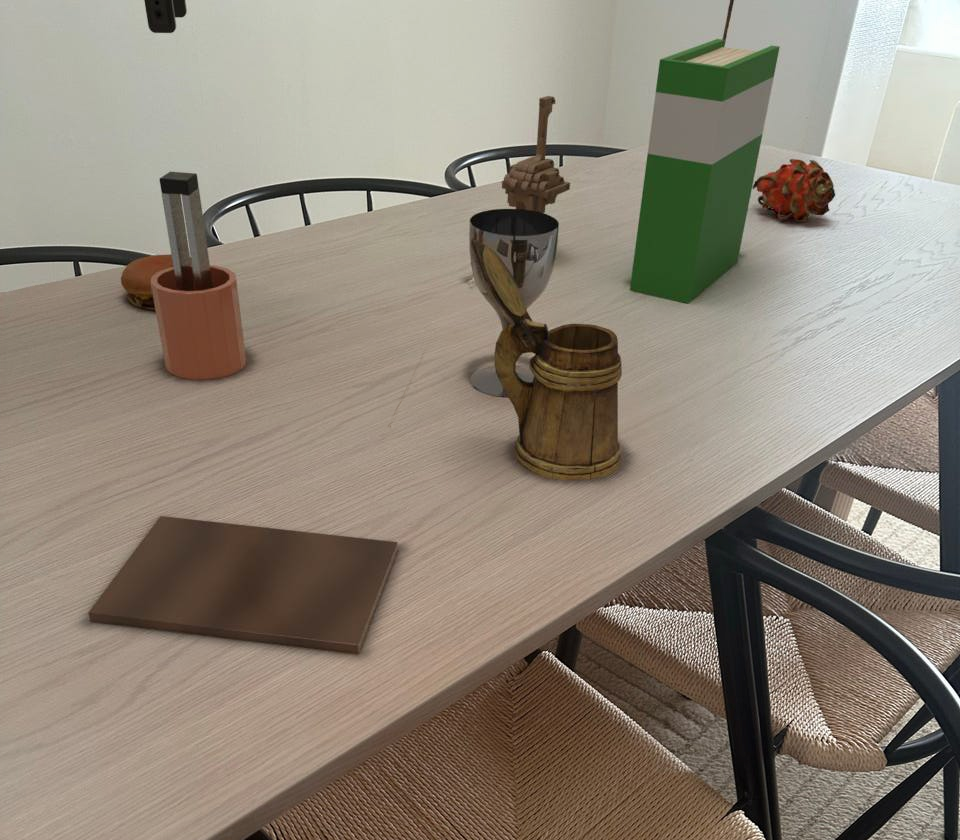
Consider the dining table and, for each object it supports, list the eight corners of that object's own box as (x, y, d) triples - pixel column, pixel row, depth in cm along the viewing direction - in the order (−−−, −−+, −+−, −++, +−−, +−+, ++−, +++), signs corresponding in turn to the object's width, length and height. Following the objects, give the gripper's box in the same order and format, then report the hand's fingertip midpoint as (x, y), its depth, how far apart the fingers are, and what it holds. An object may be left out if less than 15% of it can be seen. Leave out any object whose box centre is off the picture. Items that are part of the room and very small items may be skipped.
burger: (136, 286, 113) (128, 245, 110) (219, 287, 114) (213, 246, 111) (118, 320, 105) (110, 276, 102) (207, 321, 106) (201, 277, 103)
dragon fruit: (828, 241, 140) (749, 235, 146) (850, 192, 141) (771, 189, 148) (820, 196, 133) (736, 192, 139) (843, 146, 134) (760, 144, 141)
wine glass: (454, 390, 95) (457, 228, 85) (480, 358, 101) (486, 204, 91) (533, 404, 93) (545, 241, 84) (555, 371, 99) (569, 215, 89)
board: (92, 630, 65) (87, 612, 64) (163, 532, 74) (160, 515, 73) (358, 663, 63) (357, 645, 63) (398, 558, 73) (397, 541, 72)
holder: (154, 383, 94) (137, 289, 88) (184, 351, 100) (169, 261, 94) (231, 390, 93) (218, 296, 88) (257, 358, 99) (247, 267, 93)
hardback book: (683, 250, 130) (717, 38, 114) (737, 261, 127) (779, 46, 112) (629, 290, 118) (659, 59, 102) (688, 303, 115) (728, 68, 100)
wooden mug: (472, 428, 89) (478, 220, 78) (622, 443, 88) (651, 234, 76) (455, 477, 82) (459, 256, 71) (618, 494, 81) (648, 272, 69)
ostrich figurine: (521, 246, 129) (530, 91, 117) (565, 257, 126) (578, 99, 115) (444, 280, 118) (445, 113, 106) (490, 294, 115) (497, 123, 104)
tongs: (189, 366, 95) (158, 178, 84) (198, 356, 97) (169, 171, 86) (214, 369, 95) (186, 180, 84) (222, 359, 97) (197, 173, 86)
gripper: (98, -219, 81) (137, 12, 92) (64, -226, 71) (112, 37, 81) (191, -216, 82) (219, 13, 93) (171, -222, 71) (205, 38, 82)
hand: (169, 24), depth 87 cm, fingers open, 8 cm apart
